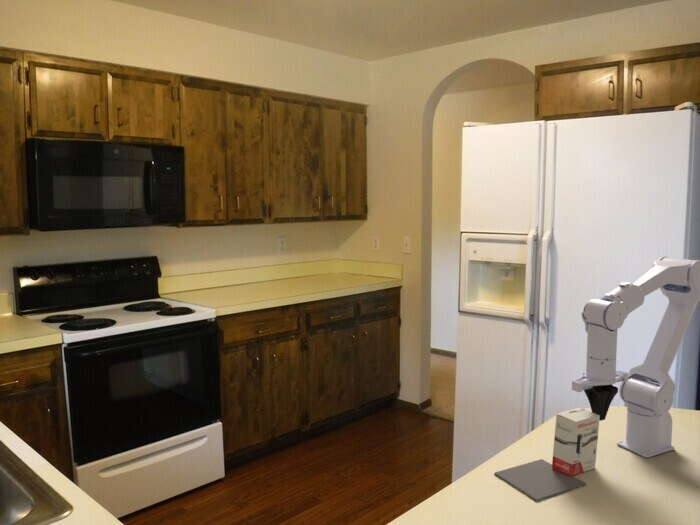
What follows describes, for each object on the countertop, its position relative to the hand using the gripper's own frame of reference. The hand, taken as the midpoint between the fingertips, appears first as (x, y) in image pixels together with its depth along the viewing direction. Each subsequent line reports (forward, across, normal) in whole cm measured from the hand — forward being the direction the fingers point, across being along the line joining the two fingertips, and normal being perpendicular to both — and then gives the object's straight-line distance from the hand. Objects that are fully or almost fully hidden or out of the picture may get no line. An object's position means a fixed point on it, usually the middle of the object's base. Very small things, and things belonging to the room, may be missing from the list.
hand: (598, 418), depth 125 cm
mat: (+10, +16, 0) cm, 19 cm away
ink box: (+10, +7, 0) cm, 12 cm away
